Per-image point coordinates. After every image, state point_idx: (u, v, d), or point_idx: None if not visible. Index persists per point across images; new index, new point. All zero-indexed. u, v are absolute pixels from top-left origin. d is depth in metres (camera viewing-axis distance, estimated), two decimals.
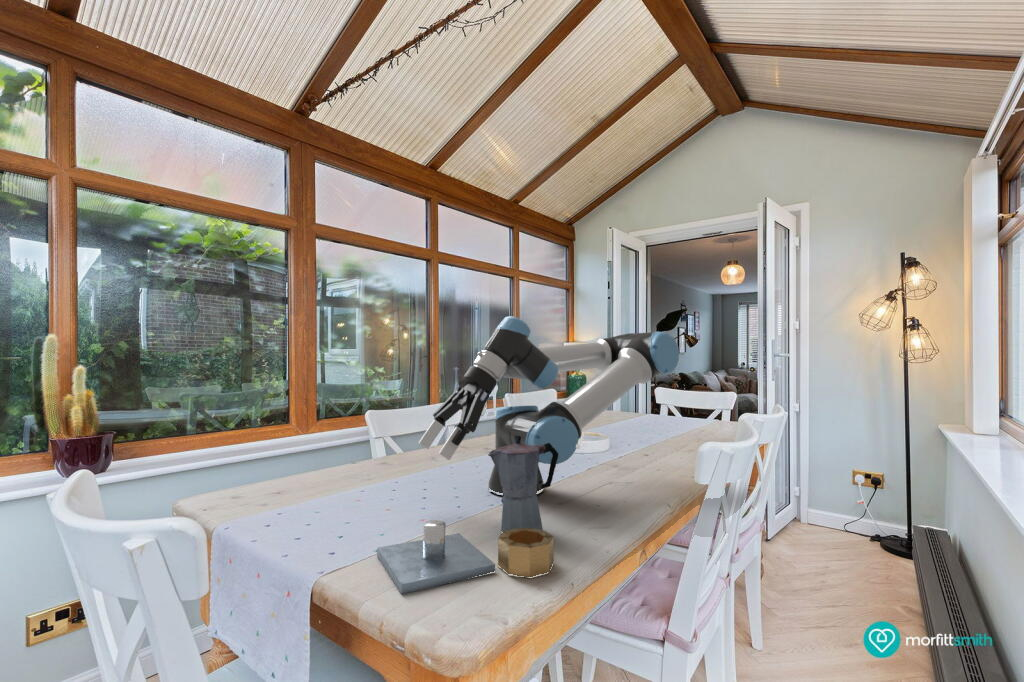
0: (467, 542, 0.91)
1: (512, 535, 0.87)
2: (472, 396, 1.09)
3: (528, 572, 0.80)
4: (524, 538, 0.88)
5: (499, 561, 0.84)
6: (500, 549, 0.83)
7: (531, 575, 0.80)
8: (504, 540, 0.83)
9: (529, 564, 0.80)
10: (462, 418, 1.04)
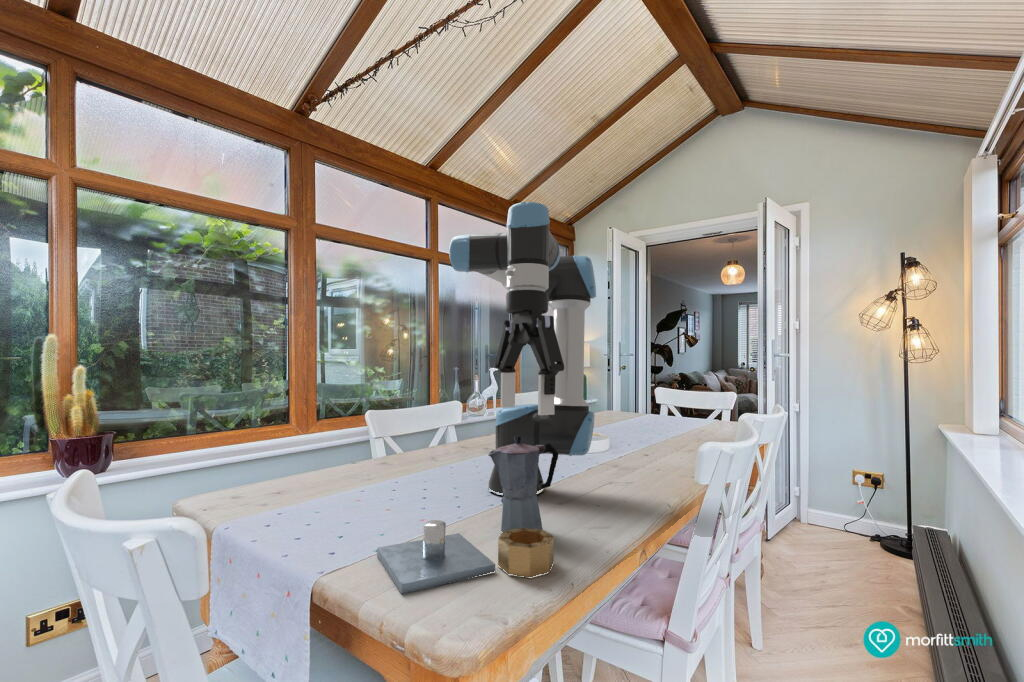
0: (467, 542, 0.91)
1: (512, 535, 0.87)
2: (532, 327, 0.83)
3: (528, 572, 0.80)
4: (524, 538, 0.88)
5: (499, 561, 0.84)
6: (500, 549, 0.83)
7: (531, 575, 0.80)
8: (504, 540, 0.83)
9: (529, 564, 0.80)
10: (540, 361, 0.80)
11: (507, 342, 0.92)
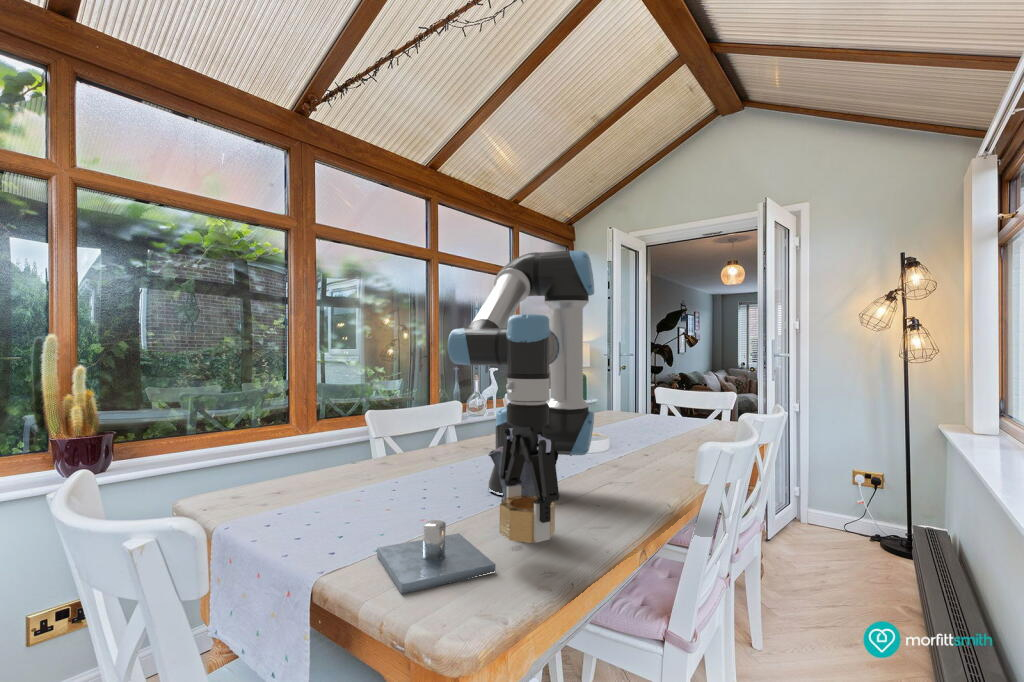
0: (467, 542, 0.91)
1: (513, 502, 0.87)
2: (533, 445, 0.82)
3: (529, 536, 0.81)
4: (525, 505, 0.89)
5: (501, 527, 0.84)
6: (501, 515, 0.84)
7: (532, 539, 0.81)
8: (505, 506, 0.84)
9: (530, 528, 0.81)
10: (536, 487, 0.80)
11: (510, 451, 0.90)
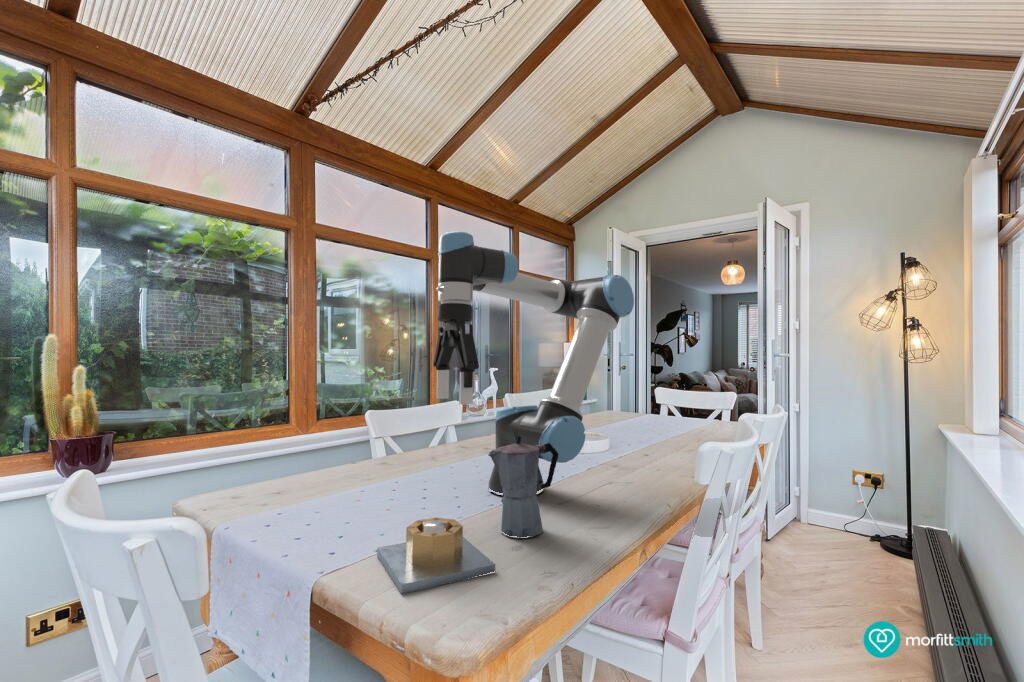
0: (467, 542, 0.91)
1: (423, 525, 0.87)
2: (457, 334, 1.02)
3: (431, 561, 0.80)
4: None
5: (407, 550, 0.84)
6: (407, 538, 0.84)
7: (434, 564, 0.80)
8: (411, 529, 0.83)
9: (432, 553, 0.80)
10: (460, 361, 0.99)
11: (442, 345, 1.12)
